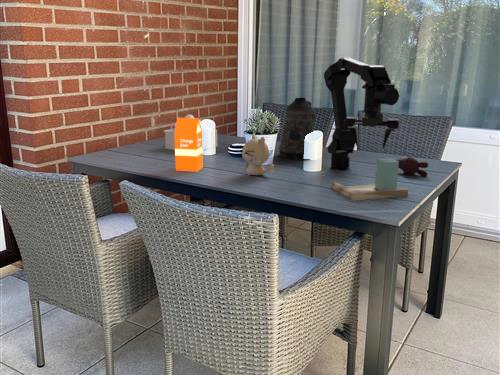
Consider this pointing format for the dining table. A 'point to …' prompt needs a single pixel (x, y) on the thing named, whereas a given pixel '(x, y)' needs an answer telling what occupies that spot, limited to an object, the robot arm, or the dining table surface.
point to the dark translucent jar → (296, 128)
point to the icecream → (412, 166)
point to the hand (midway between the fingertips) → (370, 147)
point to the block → (386, 174)
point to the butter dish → (171, 138)
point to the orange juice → (188, 144)
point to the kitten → (256, 156)
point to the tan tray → (367, 191)
